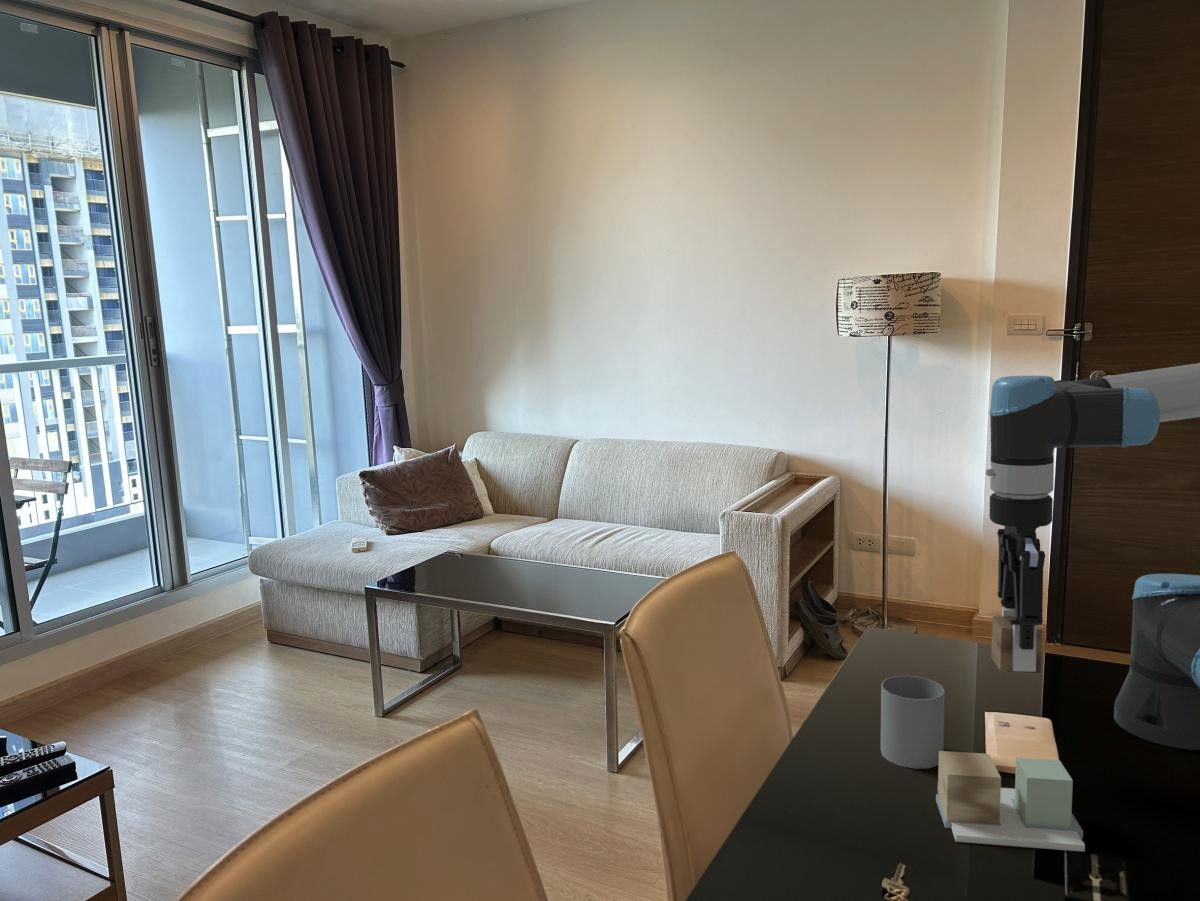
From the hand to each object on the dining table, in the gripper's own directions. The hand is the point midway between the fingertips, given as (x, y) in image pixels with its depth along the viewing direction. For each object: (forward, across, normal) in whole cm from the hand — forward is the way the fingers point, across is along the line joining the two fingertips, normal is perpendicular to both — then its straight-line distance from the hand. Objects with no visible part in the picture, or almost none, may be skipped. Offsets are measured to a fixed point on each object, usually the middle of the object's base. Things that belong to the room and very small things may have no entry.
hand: (1018, 661), depth 119 cm
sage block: (+14, +14, -1) cm, 20 cm away
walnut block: (0, 0, 0) cm, 1 cm away
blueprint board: (+15, +14, -5) cm, 21 cm away
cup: (+15, -2, -14) cm, 20 cm away
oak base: (+14, +14, -9) cm, 22 cm away
